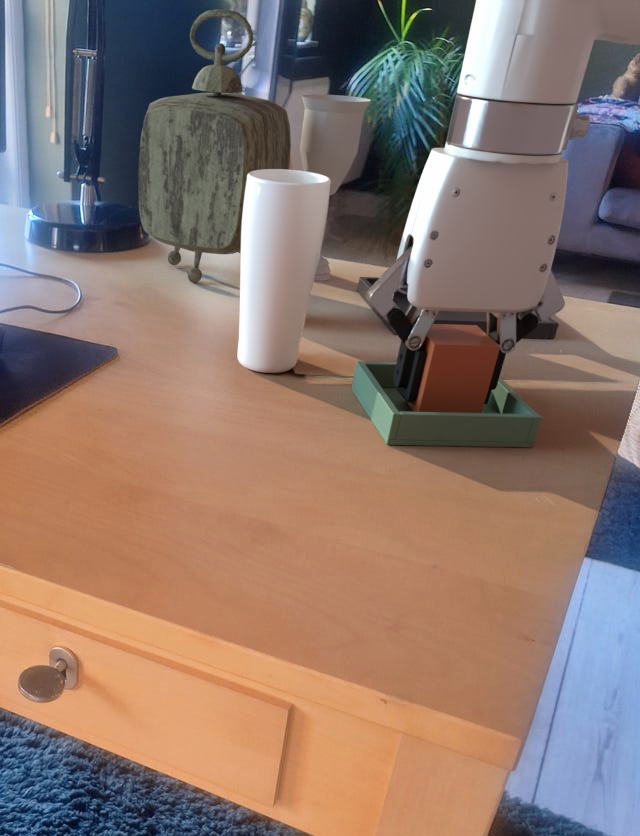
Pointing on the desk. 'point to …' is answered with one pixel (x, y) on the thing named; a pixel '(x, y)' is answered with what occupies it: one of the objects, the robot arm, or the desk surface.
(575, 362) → the desk surface
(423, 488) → the desk surface
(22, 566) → the desk surface
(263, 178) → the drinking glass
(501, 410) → the tray
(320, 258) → the chalice
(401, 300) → the pan
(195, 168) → the tabletop clock
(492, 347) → the block
